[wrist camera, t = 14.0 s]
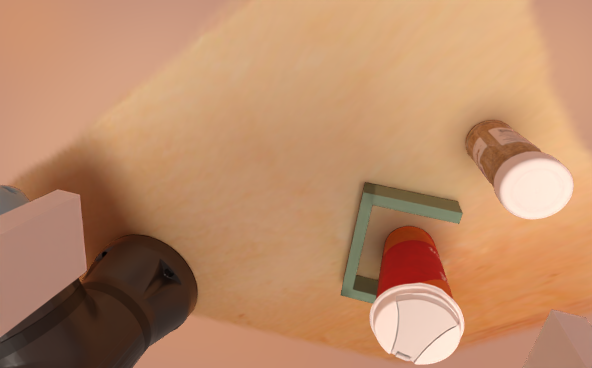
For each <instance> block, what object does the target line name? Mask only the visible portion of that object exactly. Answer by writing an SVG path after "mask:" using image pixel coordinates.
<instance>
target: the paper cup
mask: <svg viewBox="0 0 592 368" xmlns="http://www.w3.org/2000/svg"><path fill="white" fill-rule="evenodd" d="M370 324H371V328H372V330H373V332H374V334H375V336H376V338H377V340H378V342H379V343H380V345H381V346H382V347H383V348H384V350H385V351H386V352H388V353H389V354H390V352H391V353H392V354H395V357H398V358H400V359H403V360H405V361H409V360H410V361H412V362H413V363H414V364H432V363H436V362H439V361H441V360H443V359H445V358H447V357H448V356H449V355H451V354H452V353H453V352H454V350H455V349H456V348H457V346H458V344H459V341H460V338H461V336H462V334H463V330H464V318H463V314H462V312H461V309H460V308H459V306H458V304H457V303H456V302H455V301H454V300H453V297H452V294H451V290H450V287H449V284H448V281H447V278H446V275H445V272H444V269H443V267H442V264H441V261H440V258H439V255H438V252H437V249H436V247H435V244H434V242H433V240H432V238H431V237H430V235H429V234H428V233H427V232H425V231H424V230H422V229H420V228H417V227H412V226H406V227H401V228H398V229H396V230H394V231H393V232H392V233H391V234H390V235H389V236H388V238H387V240H386V242H385V246H384V251H383V256H382V262H381V269H380V275H379V282H378V288H377V295H376V300H375V302H374V303H373V305H372V308H371V311H370Z"/></svg>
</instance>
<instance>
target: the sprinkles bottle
mask: <svg viewBox="0 0 592 368" xmlns="http://www.w3.org/2000/svg"><path fill="white" fill-rule="evenodd" d="M466 149H467V152H468V155H469V156H470V157H471V158H472V159H473V160H474V161H475V163H476V165H477V166H478V167H479V169H480V170H481V171H482V173H483V174H484V175H485V177H486V178H487V180H488V181H489V182H490V183H491V184H492V186H493V187H494V191H495V194H496V196H497V197H498V199H499V201H500V202H501V203H502V205H503V206H504V207H505V208H506V209H507V210H508V211H509V212H510V213H512V214H513V215H515V216H518V217H521V218H524V219H541V218H545V217H548V216H551V215H553V214H555V213H557V212H558V211H560V210H561V209H562V208H563V207H564V206H565V205H566V204H567V203H568V201H569V200H570V198H571V196H572V193H573V186H574V184H573V178H572V175H571V174H570V172H569V170H568V169H567V168H566V167H565V166H564V165H563V164H562V163H561V162H559V161H558V160H557V159H555V158H554V157H552V156H551V155H549V154H546V153H542V152H541V151H540V149H538V148H537V147H536V146H535V145H533V144H532V143H530V142H529V141H528V140H526V139H525V138H524V137H522V136H521V135H520V134H518V133H517V132H515V131H514V130H512V129H511V128H510V127H509V126H508V125H507V124H505V123H503V122H501V121H495V120H490V121H485V122H482V123H480V124H478V125H476V126H475V127H474V128H473V129H472V130H471V131H470V133H469V135H468V137H467V139H466Z"/></svg>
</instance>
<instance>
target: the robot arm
mask: <svg viewBox="0 0 592 368" xmlns="http://www.w3.org/2000/svg"><path fill="white" fill-rule="evenodd" d="M86 271H87V265H86V254H85V244H84V233H83V222H82V212H81V201H80V195H79V194H75V193H71V192H67V191H63V190H59V189H57V190H55V191H53V192H51V193H48V194H46V195H44V196H42V197H40V198H37V199H35V200H33V201H31V202H30V201H29V200H28V198H27V197H26V195H25V194H24V193H23V192H22V191H21V190H19V189H17V188H15V187H12V186H6V185H0V368H133V366H134V365H135V364H136V362H137V361H138V360H139V359H140V357H141V356H142V355H143V353H144V352H145V351H146V349H147V348H148V347H149V346H150V345H152V344H154V343H155V342H157V341H158V340H160V339H161V338H162V337H164V336H165V335H167V334H168V333H170V332H171V331H173V330H175V329H177V328H178V327H179V326H180V325H181V324H183V322H184V321H185V320H186V319H187V317H188V316H189V315H190V313H191V312H192V310H193V308H194V306H195V304H196V299H197V287H196V283H195V279H194V277H193V274H192V272H191V270H190V268H189V267H188V265H187V264H186V262H185V261H184V260H183V259H182V258H181V256H180V255H179V254H178V253H176V252H175V251H174V250H173V249H172V248H170V247H169V246H167V245H166V244H164V243H162V242H160V241H158V240H156V239H153V238H151V237H147V236H141V235H129V236H124V237H121V238H119V239H117V240H115V241H114V242H113V243H111V244H110V245H109V246H107V247H106V248H105V249H103V250H102V251H101V252H100V254H99V255H98V256H97V258H96V259H95V261H94V262H93V264H92V266H91V267H90V269H89V270H88V272H87V274H86V275H85V277H84V278H83V280H82V282H80V280H79V278H78V277H80V276H81V275H82V274H84V273H85V272H86ZM523 368H592V326H591V325H590V323H589V322H588V320H587V319H586V318H585V317H581V316H577V315H573V314H569V313H565V312H561V311H557V310H552V309H551V311H550V313H549V315H548V317H547V319H546V321H545V323H544V325H543V327H542V329H541V331H540V333H539V335H538V337H537V339H536V341H535V343H534V346H533V347H532V349H531V351H530V354H529V356H528V358H527V360H526V362H525V364H524V366H523Z"/></svg>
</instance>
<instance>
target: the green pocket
mask: <svg viewBox="0 0 592 368" xmlns="http://www.w3.org/2000/svg"><path fill="white" fill-rule="evenodd" d="M372 205H375V206H380V207H384V208H389V209H393V210H398V211H403V212H407V213H412V214H416V215H421V216H426V217H430V218H435V219H439V220H444V221H449V222H453V223H458V224H459V223H460V220H461V217H462V214H463V213H462V210H461V208H460V206H459V203H458V202H457V201H453V200H448V199H443V198H438V197H433V196H429V195H424V194H419V193H414V192H409V191H405V190H400V189H395V188H390V187H385V186H380V185H376V184H371V183H366V182H365V185H364V190H363V194H362V199H361V203H360V208H359V212H358V217H357V221H356V226H355V231H354V235H353V240H352V244H351V249H350V253H349V258H348V262H347V267H346V271H345V276H344V280H343V285H342V290H341V295H342V296H346V297H349V298H353V299H357V300H361V301H365V302H369V303H374V302H375V300H376V295H377V288H378V282H379V281H377V280H373V279H369V278H365V277H361V276H357V275H356V273H357V269H358V264H359V260H360V256H361V252H362V247H363V243H364V239H365V235H366V230H367V226H368V222H369V218H370V213H371V209H372Z"/></svg>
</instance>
